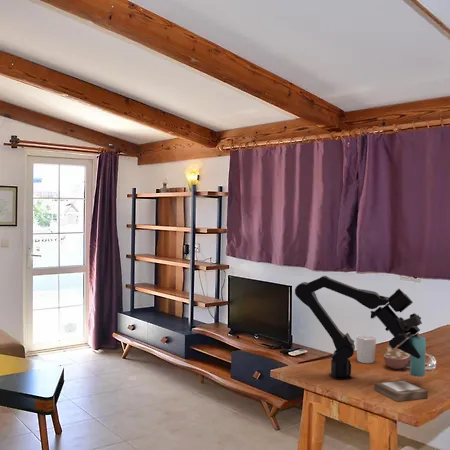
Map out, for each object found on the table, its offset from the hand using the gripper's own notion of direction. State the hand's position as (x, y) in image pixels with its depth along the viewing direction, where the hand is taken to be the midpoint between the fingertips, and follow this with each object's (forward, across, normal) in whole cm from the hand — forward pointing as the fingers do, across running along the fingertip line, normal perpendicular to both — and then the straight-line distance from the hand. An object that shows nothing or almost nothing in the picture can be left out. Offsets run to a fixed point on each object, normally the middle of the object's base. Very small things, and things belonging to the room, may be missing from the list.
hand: (421, 356), depth 185 cm
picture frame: (+5, -10, +11) cm, 16 cm away
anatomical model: (-3, +27, +20) cm, 33 cm away
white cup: (-12, +22, +28) cm, 38 cm away
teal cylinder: (+4, 0, +6) cm, 7 cm away
